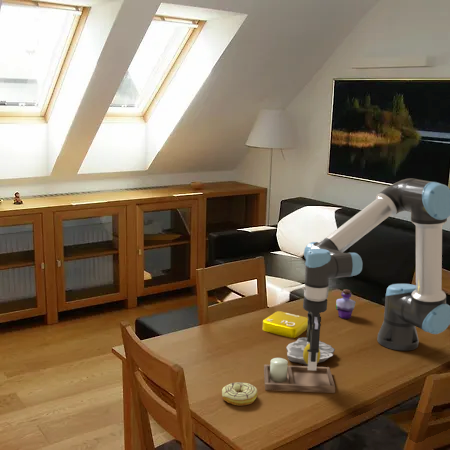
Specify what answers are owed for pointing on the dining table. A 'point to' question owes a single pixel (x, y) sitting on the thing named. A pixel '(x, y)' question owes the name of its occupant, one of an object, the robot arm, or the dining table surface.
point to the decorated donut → (239, 393)
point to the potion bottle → (345, 305)
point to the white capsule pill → (278, 370)
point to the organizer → (302, 380)
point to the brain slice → (298, 347)
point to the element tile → (285, 324)
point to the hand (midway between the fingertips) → (310, 365)
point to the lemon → (306, 354)
